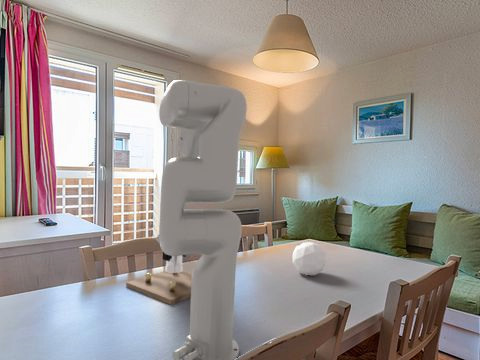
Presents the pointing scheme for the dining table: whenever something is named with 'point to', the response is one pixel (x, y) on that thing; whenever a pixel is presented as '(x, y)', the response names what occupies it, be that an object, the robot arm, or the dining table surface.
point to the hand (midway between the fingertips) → (174, 257)
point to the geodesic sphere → (309, 258)
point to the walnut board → (164, 286)
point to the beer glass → (174, 265)
